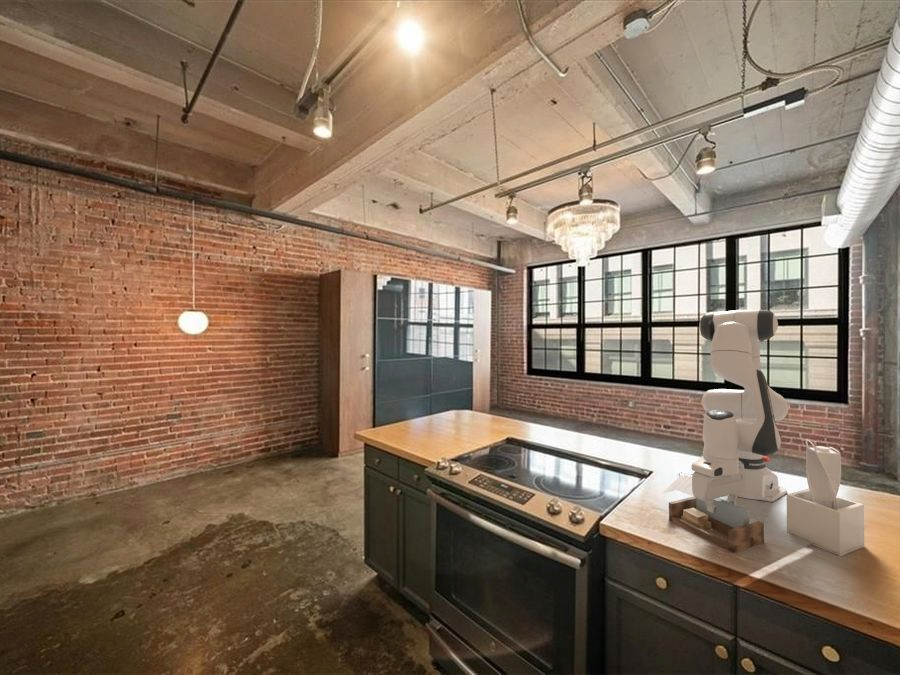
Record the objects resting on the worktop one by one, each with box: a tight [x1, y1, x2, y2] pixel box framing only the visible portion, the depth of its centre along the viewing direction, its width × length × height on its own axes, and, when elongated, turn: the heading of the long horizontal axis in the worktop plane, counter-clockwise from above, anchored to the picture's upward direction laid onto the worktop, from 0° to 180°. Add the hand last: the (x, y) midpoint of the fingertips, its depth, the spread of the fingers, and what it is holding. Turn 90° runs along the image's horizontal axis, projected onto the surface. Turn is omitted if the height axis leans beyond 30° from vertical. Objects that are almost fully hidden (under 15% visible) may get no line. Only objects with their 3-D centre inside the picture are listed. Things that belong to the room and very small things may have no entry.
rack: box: [668, 496, 765, 554], centre depth 112 cm, size 13×19×7 cm
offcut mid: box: [681, 516, 712, 531], centre depth 115 cm, size 4×6×2 cm
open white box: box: [785, 488, 865, 557], centre depth 108 cm, size 12×12×12 cm
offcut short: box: [683, 508, 708, 524], centre depth 115 cm, size 4×5×2 cm
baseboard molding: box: [661, 472, 694, 497], centre depth 143 cm, size 31×3×12 cm
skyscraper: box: [805, 438, 842, 510], centre depth 108 cm, size 8×8×28 cm
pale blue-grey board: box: [696, 497, 750, 528], centre depth 113 cm, size 2×14×10 cm, turn 20°
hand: (721, 509), depth 113 cm, fingers open, 7 cm apart
